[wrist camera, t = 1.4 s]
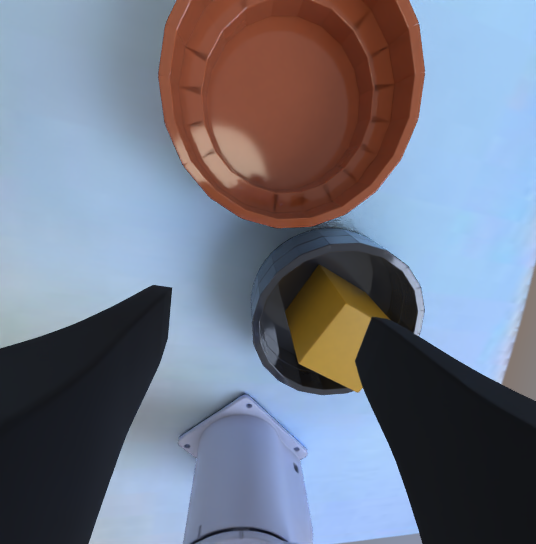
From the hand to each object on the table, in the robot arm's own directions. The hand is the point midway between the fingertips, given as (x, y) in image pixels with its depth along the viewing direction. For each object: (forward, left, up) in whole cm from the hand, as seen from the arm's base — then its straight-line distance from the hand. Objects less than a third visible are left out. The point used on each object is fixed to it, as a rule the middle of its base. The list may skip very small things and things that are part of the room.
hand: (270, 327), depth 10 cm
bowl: (+5, -6, -11) cm, 14 cm away
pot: (-7, -1, -11) cm, 13 cm away
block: (-7, -1, -10) cm, 12 cm away
